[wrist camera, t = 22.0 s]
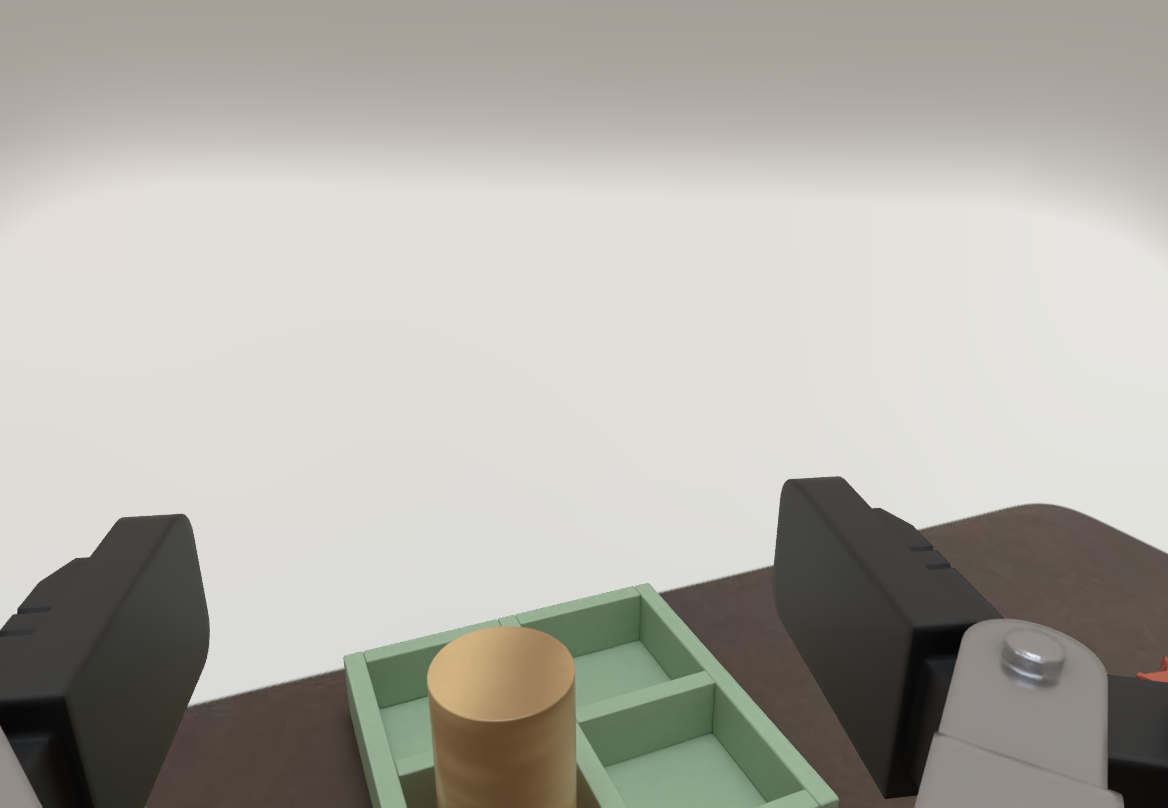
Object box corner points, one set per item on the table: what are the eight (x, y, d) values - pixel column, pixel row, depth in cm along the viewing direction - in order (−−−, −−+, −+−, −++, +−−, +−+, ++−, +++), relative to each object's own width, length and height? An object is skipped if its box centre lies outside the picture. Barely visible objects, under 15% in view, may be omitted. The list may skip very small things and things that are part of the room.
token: (428, 923, 27) (408, 715, 24) (460, 810, 31) (447, 621, 28) (569, 936, 26) (566, 726, 23) (583, 819, 30) (582, 629, 28)
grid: (425, 1030, 24) (417, 955, 23) (350, 714, 37) (343, 655, 35) (831, 865, 29) (840, 797, 28) (647, 635, 42) (648, 581, 40)
